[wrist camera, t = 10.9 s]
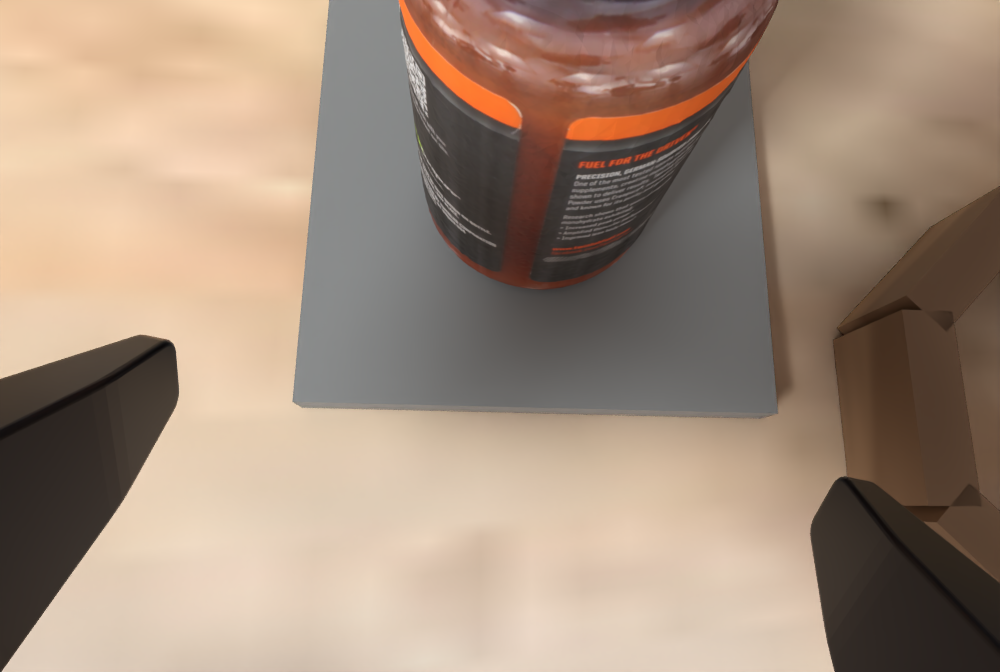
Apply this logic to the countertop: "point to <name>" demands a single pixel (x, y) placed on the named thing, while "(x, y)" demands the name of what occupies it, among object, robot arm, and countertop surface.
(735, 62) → the supplement bottle
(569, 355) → the pad
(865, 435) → the collar ring
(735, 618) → the countertop surface
